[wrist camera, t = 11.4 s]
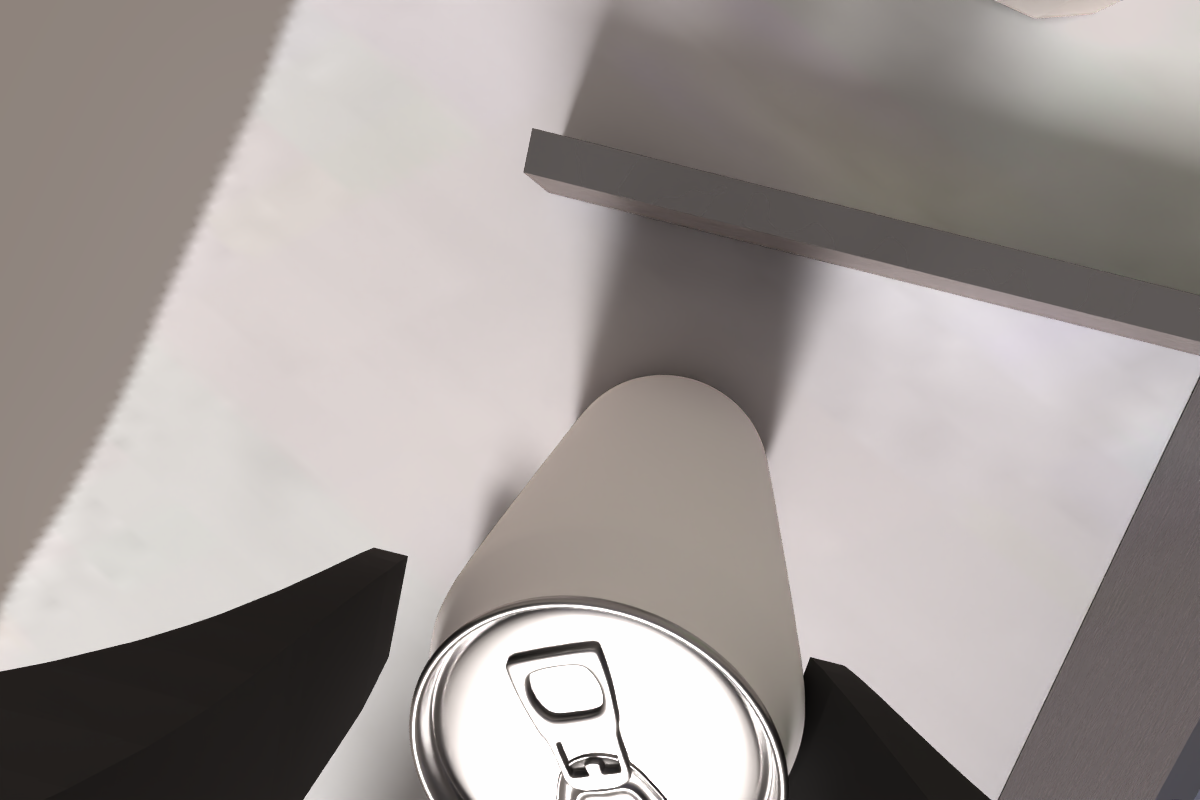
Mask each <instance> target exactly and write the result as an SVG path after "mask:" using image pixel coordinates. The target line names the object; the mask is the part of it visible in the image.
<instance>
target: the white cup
mask: <svg viewBox="0 0 1200 800" xmlns="http://www.w3.org/2000/svg"><path fill="white" fill-rule="evenodd" d="M994 1H997V2H999V3H1001V4H1003V5H1005V6H1007V7H1010V8H1012V9H1014V10H1016V11H1018V12H1021V13H1023V14H1025V15H1027V16H1029V17H1032V18H1035V19H1038V18H1051V17H1064V16H1077V15H1090V14H1094V13H1096V12H1099V11H1101V10H1103V9H1105V8H1107V7H1109V6H1111V5H1114V4H1116V3H1118V2H1120V1H1122V0H994Z"/></svg>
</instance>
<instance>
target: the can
mask: <svg viewBox="0 0 1200 800" xmlns="http://www.w3.org/2000/svg"><path fill="white" fill-rule="evenodd" d="M804 720H805V688H804V678H803V670H802V661H801V654H800V648H799V641H798V635H797V629H796V622H795V616H794V610H793V604H792V598H791V592H790V586H789V580H788V574H787V568H786V562H785V557H784V551H783V545H782V539H781V533H780V528H779V522H778V516H777V511H776V505H775V499H774V494H773V488H772V483H771V477H770V472H769V467H768V462H767V458H766V454H765V450H764V447H763V444H762V441H761V439H760V437H759V434H758V432H757V430H756V429H755V427H754V425H753V424H752V422H751V421H750V419H749V418H748V416H747V415H746V414H745V413H744V412H743V410H742V409H741V408H740V407H739V406H738V405H737V404H736V403H735V402H733V401H732V400H731V399H730V398H729V397H727V396H726V395H725V394H723V393H722V392H720V391H718V390H717V389H715V388H713V387H711V386H709V385H707V384H705V383H702V382H699V381H697V380H693V379H690V378H686V377H681V376H673V375H652V376H644V377H639V378H635V379H632V380H629V381H626V382H623V383H621V384H619V385H617V386H615V387H613V388H611V389H610V390H608V391H607V392H605V393H604V394H602V395H601V396H600V397H599V398H597V399H596V400H595V401H594V402H593V403H592V404H591V405H590V406H589V407H588V408H587V409H586V410H585V411H584V413H583V414H582V415H581V416H580V417H579V419H578V420H577V421H576V422H575V424H574V425H573V426H572V427H571V429H570V430H569V431H568V432H567V434H566V435H565V436H564V437H563V439H562V440H561V441H560V443H559V444H558V445H557V446H556V448H555V449H554V450H553V451H552V453H551V454H550V455H549V457H548V458H547V459H546V460H545V462H544V463H543V464H542V466H541V467H540V468H539V469H538V471H537V472H536V473H535V475H534V476H533V477H532V479H531V480H530V481H529V482H528V484H527V485H526V486H525V488H524V489H523V490H522V491H521V493H520V494H519V495H518V497H517V498H516V499H515V501H514V502H513V503H512V504H511V506H510V507H509V508H508V510H507V511H506V512H505V514H504V515H503V516H502V517H501V519H500V520H499V521H498V523H497V524H496V525H495V527H494V528H493V529H492V531H491V532H490V533H489V534H488V536H487V537H486V538H485V540H484V541H483V542H482V544H481V545H480V546H479V548H478V549H477V550H476V552H475V553H474V554H473V556H472V557H471V558H470V560H469V561H468V563H467V564H466V566H465V567H464V568H463V570H462V571H461V573H460V574H459V576H458V577H457V579H456V580H455V582H454V583H453V585H452V587H451V589H450V590H449V592H448V594H447V596H446V598H445V600H444V602H443V604H442V606H441V608H440V611H439V613H438V616H437V619H436V622H435V626H434V630H433V635H432V640H431V647H430V656H429V661H428V662H427V664H426V666H425V667H424V669H423V671H422V673H421V675H420V677H419V680H418V682H417V685H416V688H415V691H414V694H413V699H412V703H411V709H410V720H409V734H410V745H411V751H412V756H413V760H414V764H415V768H416V771H417V774H418V777H419V779H420V782H421V784H422V786H423V789H424V791H425V793H426V795H427V797H428V799H429V800H788V799H789V777H788V776H789V773H790V771H791V769H792V767H793V764H794V762H795V759H796V756H797V753H798V750H799V747H800V743H801V739H802V735H803V729H804Z"/></svg>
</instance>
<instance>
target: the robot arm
mask: <svg viewBox="0 0 1200 800" xmlns="http://www.w3.org/2000/svg"><path fill="white" fill-rule="evenodd" d="M407 558H408V556H405V555H401V554H397V553H393V552H389V551H385V550H381V549H377V548H372V549H370V550H367V551H365V552H362V553H360V554H358V555H356V556H354V557H351V558H349V559H347V560H345V561H343V562H341V563H339V564H337V565H334V566H332V567H330V568H328V569H326V570H324V571H322V572H319V573H317V574H315V575H313V576H311V577H308V578H306V579H304V580H302V581H300V582H297V583H295V584H293V585H291V586H289V587H286V588H284V589H282V590H280V591H277V592H275V593H272V594H270V595H267V596H265V597H262V598H260V599H257V600H255V601H252V602H250V603H247V604H245V605H242V606H240V607H237V608H235V609H232V610H230V611H227V612H225V613H222V614H219V615H217V616H214V617H211V618H208V619H205V620H202V621H199V622H196V623H193V624H191V625H188V626H184V627H181V628H178V629H175V630H171V631H168V632H165V633H162V634H158V635H155V636H152V637H149V638H145V639H141V640H138V641H134V642H131V643H126V644H122V645H118V646H114V647H110V648H106V649H102V650H98V651H94V652H89V653H85V654H81V655H77V656H73V657H69V658H65V659H61V660H57V661H52V662H47V663H43V664H38V665H32V666H27V667H22V668H17V669H12V670H7V671H1V672H0V800H303V799H304V798H305V796H306V795H307V793H308V792H309V790H310V789H311V787H312V786H313V784H314V783H315V781H316V780H317V778H318V777H319V775H320V774H321V772H322V770H323V769H324V767H325V766H326V764H327V763H328V761H329V760H330V758H331V757H332V755H333V754H334V752H335V751H336V749H337V748H338V746H339V745H340V743H341V742H342V740H343V739H344V737H345V736H346V734H347V732H348V731H349V729H350V728H351V726H352V725H353V723H354V722H355V720H356V719H357V717H358V715H359V714H360V712H361V711H362V709H363V707H364V705H365V703H366V701H367V699H368V697H369V695H370V693H371V692H372V690H373V688H374V686H375V684H376V682H377V680H378V677H379V675H380V673H381V671H382V669H383V667H384V665H385V663H386V661H387V659H388V657H389V652H390V647H391V642H392V636H393V631H394V626H395V621H396V616H397V610H398V605H399V600H400V595H401V589H402V584H403V579H404V574H405V568H406V563H407ZM803 678H804V688H805V720H804V729H803V735H802V739H801V743H800V747H799V750H798V753H797V756H796V759H795V762H794V764H793V767H792V769H791V771H790V773H789V776H788V777H789V799H788V800H991V799H989V798H988V797H987V796H986V795H985V794H984V793H983V792H981V791H980V790H979V789H978V788H977V787H976V786H975V785H973V784H972V783H971V782H970V781H969V780H968V779H967V778H966V777H965V776H963V775H962V774H961V773H960V772H959V771H958V770H957V769H956V768H955V767H954V766H953V765H951V764H950V763H949V762H948V761H947V760H946V759H945V758H944V757H943V756H942V755H941V754H940V753H939V752H937V751H936V750H935V749H934V748H933V747H932V746H931V745H930V744H929V743H928V742H927V741H926V740H925V739H924V738H923V737H922V736H921V735H919V734H918V733H917V732H916V731H915V730H914V729H913V728H912V727H911V726H910V725H909V724H908V723H907V722H906V721H905V720H904V719H903V718H902V717H901V716H900V715H899V714H897V713H896V712H895V711H894V710H893V709H892V708H891V707H890V706H889V705H888V704H887V703H886V702H885V701H884V700H883V699H882V698H881V697H880V696H879V695H878V694H876V693H875V692H874V691H873V690H872V689H871V688H870V687H869V686H868V685H867V684H866V683H864V682H863V681H862V680H861V679H860V678H859V677H858V676H856V675H855V674H854V673H853V672H852V671H850V670H849V669H848V668H847V667H845V666H843V665H839V664H835V663H831V662H827V661H823V660H819V659H815V658H811V657H810V659H809V662H808V665H807V667H806V670H805V673H804V675H803ZM1194 800H1200V790H1199V792H1198V793H1197V795H1196V797H1195V799H1194Z"/></svg>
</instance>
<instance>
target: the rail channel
mask: <svg viewBox="0 0 1200 800" xmlns="http://www.w3.org/2000/svg"><path fill="white" fill-rule="evenodd" d="M524 173H525V174H526V175H527V176H529V177H530V178H531V179H532V180H534V181H535V182H536V183H537V184H539V185H540V186H541V187H542V188H544V189H545V190H546V191H547V192H549V193H553V194H557V195H561V196H565V197H569V198H573V199H577V200H581V201H585V202H589V203H593V204H597V205H601V206H605V207H609V208H613V209H617V210H621V211H625V212H629V213H633V214H637V215H641V216H645V217H649V218H653V219H657V220H661V221H665V222H669V223H672V224H676V225H680V226H684V227H688V228H692V229H696V230H700V231H704V232H708V233H712V234H716V235H720V236H724V237H728V238H732V239H736V240H740V241H744V242H748V243H752V244H756V245H760V246H764V247H768V248H772V249H776V250H780V251H784V252H788V253H792V254H796V255H800V256H804V257H808V258H812V259H816V260H820V261H824V262H828V263H832V264H836V265H840V266H844V267H848V268H852V269H856V270H860V271H864V272H868V273H872V274H876V275H880V276H884V277H888V278H892V279H896V280H900V281H904V282H908V283H912V284H916V285H920V286H924V287H928V288H932V289H936V290H940V291H944V292H948V293H952V294H956V295H960V296H964V297H968V298H972V299H976V300H980V301H984V302H988V303H992V304H996V305H1000V306H1004V307H1008V308H1012V309H1016V310H1020V311H1024V312H1028V313H1032V314H1036V315H1040V316H1044V317H1048V318H1052V319H1056V320H1060V321H1064V322H1068V323H1072V324H1076V325H1080V326H1084V327H1088V328H1092V329H1096V330H1100V331H1104V332H1108V333H1112V334H1116V335H1120V336H1124V337H1128V338H1132V339H1136V340H1140V341H1144V342H1148V343H1152V344H1156V345H1160V346H1164V347H1167V348H1171V349H1175V350H1179V351H1183V352H1187V353H1191V354H1195V355H1199V356H1200V296H1199V295H1195V294H1191V293H1187V292H1183V291H1179V290H1175V289H1171V288H1167V287H1163V286H1159V285H1155V284H1151V283H1148V282H1144V281H1140V280H1136V279H1132V278H1128V277H1124V276H1120V275H1116V274H1112V273H1108V272H1104V271H1100V270H1096V269H1092V268H1088V267H1084V266H1080V265H1076V264H1072V263H1068V262H1064V261H1060V260H1056V259H1052V258H1048V257H1044V256H1040V255H1036V254H1032V253H1028V252H1024V251H1020V250H1016V249H1012V248H1008V247H1004V246H1000V245H996V244H992V243H988V242H984V241H980V240H976V239H972V238H968V237H964V236H960V235H956V234H952V233H948V232H944V231H940V230H936V229H932V228H928V227H924V226H920V225H916V224H912V223H908V222H904V221H900V220H897V219H893V218H889V217H885V216H881V215H877V214H873V213H869V212H865V211H861V210H857V209H853V208H849V207H845V206H841V205H837V204H833V203H829V202H825V201H821V200H817V199H813V198H809V197H805V196H801V195H797V194H793V193H789V192H785V191H781V190H777V189H773V188H769V187H765V186H761V185H757V184H753V183H749V182H745V181H741V180H737V179H733V178H729V177H725V176H721V175H717V174H713V173H709V172H705V171H701V170H697V169H693V168H689V167H685V166H681V165H677V164H673V163H669V162H665V161H661V160H657V159H653V158H649V157H645V156H642V155H638V154H634V153H630V152H626V151H622V150H618V149H614V148H610V147H606V146H602V145H598V144H594V143H590V142H586V141H582V140H578V139H574V138H570V137H566V136H562V135H558V134H554V133H550V132H546V131H542V130H538V129H534V128H532V133H531V138H530V143H529V148H528V153H527V157H526V162H525V167H524ZM428 661H429V660H428ZM1199 790H1200V379H1199V381H1198V383H1197V385H1196V387H1195V389H1194V392H1193V394H1192V396H1191V398H1190V400H1189V402H1188V404H1187V406H1186V408H1185V410H1184V412H1183V415H1182V417H1181V419H1180V421H1179V423H1178V425H1177V427H1176V429H1175V431H1174V433H1173V436H1172V438H1171V440H1170V442H1169V444H1168V446H1167V448H1166V450H1165V452H1164V454H1163V457H1162V459H1161V461H1160V463H1159V465H1158V467H1157V469H1156V471H1155V473H1154V475H1153V477H1152V480H1151V482H1150V484H1149V486H1148V488H1147V490H1146V492H1145V494H1144V496H1143V498H1142V501H1141V503H1140V505H1139V507H1138V509H1137V511H1136V513H1135V515H1134V517H1133V519H1132V522H1131V524H1130V526H1129V528H1128V530H1127V532H1126V534H1125V536H1124V538H1123V540H1122V542H1121V545H1120V547H1119V549H1118V551H1117V553H1116V555H1115V557H1114V559H1113V561H1112V563H1111V566H1110V568H1109V570H1108V572H1107V574H1106V576H1105V578H1104V580H1103V582H1102V584H1101V586H1100V589H1099V591H1098V593H1097V595H1096V597H1095V599H1094V601H1093V603H1092V605H1091V607H1090V610H1089V612H1088V614H1087V616H1086V618H1085V620H1084V622H1083V624H1082V626H1081V628H1080V631H1079V633H1078V635H1077V637H1076V639H1075V641H1074V643H1073V645H1072V647H1071V649H1070V651H1069V654H1068V656H1067V658H1066V660H1065V662H1064V664H1063V666H1062V668H1061V670H1060V672H1059V675H1058V677H1057V679H1056V681H1055V683H1054V685H1053V687H1052V689H1051V691H1050V693H1049V696H1048V698H1047V700H1046V702H1045V704H1044V706H1043V708H1042V710H1041V712H1040V714H1039V716H1038V719H1037V721H1036V723H1035V725H1034V727H1033V729H1032V731H1031V733H1030V735H1029V737H1028V740H1027V742H1026V744H1025V746H1024V748H1023V750H1022V752H1021V754H1020V756H1019V758H1018V760H1017V763H1016V765H1015V767H1014V769H1013V771H1012V773H1011V775H1010V777H1009V779H1008V781H1007V784H1006V786H1005V788H1004V790H1003V792H1002V794H1001V796H1000V798H999V800H1194V799H1195V797H1196V795H1197V793H1198V792H1199Z"/></svg>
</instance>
